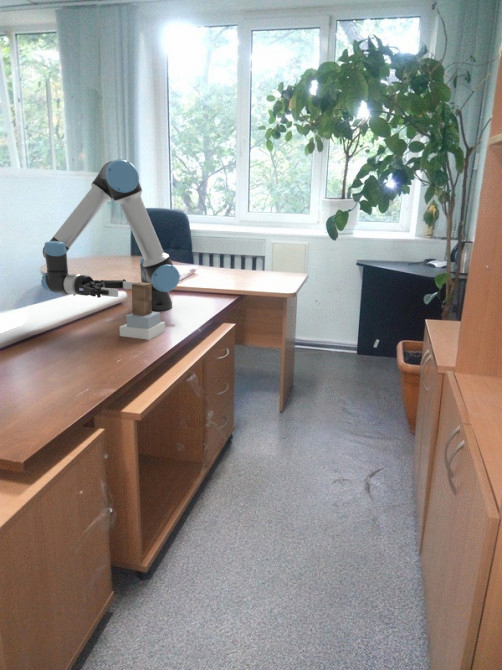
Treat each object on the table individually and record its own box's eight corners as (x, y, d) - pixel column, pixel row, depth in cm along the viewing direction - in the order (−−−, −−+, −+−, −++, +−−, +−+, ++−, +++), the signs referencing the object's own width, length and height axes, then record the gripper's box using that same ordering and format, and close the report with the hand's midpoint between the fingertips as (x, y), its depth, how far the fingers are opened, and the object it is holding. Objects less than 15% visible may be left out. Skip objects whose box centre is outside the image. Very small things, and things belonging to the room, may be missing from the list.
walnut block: (140, 311, 178) (139, 282, 175) (151, 312, 177) (151, 283, 174) (132, 314, 174) (131, 284, 171) (144, 315, 172) (143, 285, 169)
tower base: (137, 328, 185) (137, 318, 184) (165, 332, 181) (165, 322, 180) (120, 337, 174) (119, 326, 173) (149, 341, 170) (148, 330, 169)
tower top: (139, 320, 182) (139, 310, 181) (160, 322, 179) (160, 312, 178) (126, 326, 173) (125, 315, 172) (148, 328, 171) (148, 317, 170)
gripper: (100, 288, 193) (146, 293, 186) (57, 301, 170) (108, 306, 164) (99, 270, 191) (145, 274, 184) (55, 280, 168) (107, 285, 162)
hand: (128, 289), depth 174 cm, fingers open, 13 cm apart
